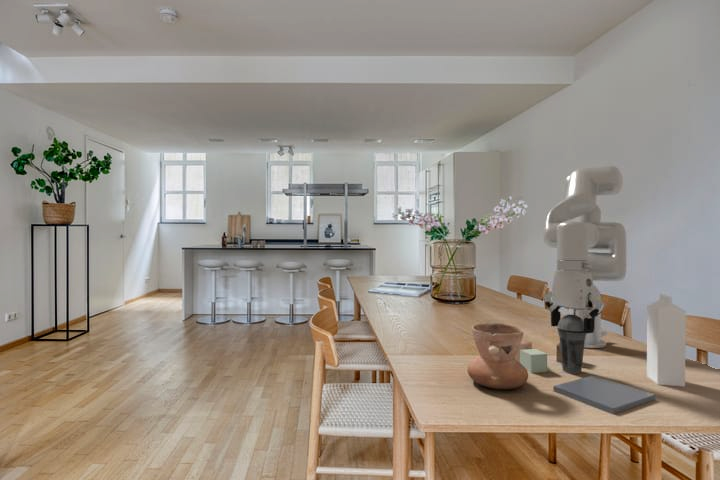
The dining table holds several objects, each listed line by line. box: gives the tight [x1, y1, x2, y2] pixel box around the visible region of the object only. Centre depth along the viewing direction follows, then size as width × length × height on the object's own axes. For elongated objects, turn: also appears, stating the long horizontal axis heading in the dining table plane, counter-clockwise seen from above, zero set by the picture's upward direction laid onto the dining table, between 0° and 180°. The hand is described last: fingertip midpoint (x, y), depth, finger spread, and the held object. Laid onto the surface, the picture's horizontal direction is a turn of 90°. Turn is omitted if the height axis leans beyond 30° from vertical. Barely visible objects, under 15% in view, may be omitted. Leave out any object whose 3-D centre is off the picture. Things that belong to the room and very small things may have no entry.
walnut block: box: [555, 342, 562, 364], centre depth 118 cm, size 5×5×5 cm
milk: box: [646, 293, 687, 388], centre depth 101 cm, size 6×6×22 cm
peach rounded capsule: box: [514, 339, 533, 363], centre depth 117 cm, size 6×6×6 cm
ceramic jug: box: [466, 322, 529, 390], centre depth 100 cm, size 18×14×14 cm
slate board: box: [552, 375, 656, 415], centre depth 93 cm, size 16×14×1 cm
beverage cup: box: [556, 309, 586, 375], centre depth 109 cm, size 7×7×20 cm
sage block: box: [520, 348, 548, 374], centre depth 111 cm, size 5×5×5 cm
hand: (571, 329), depth 109 cm, fingers open, 9 cm apart
